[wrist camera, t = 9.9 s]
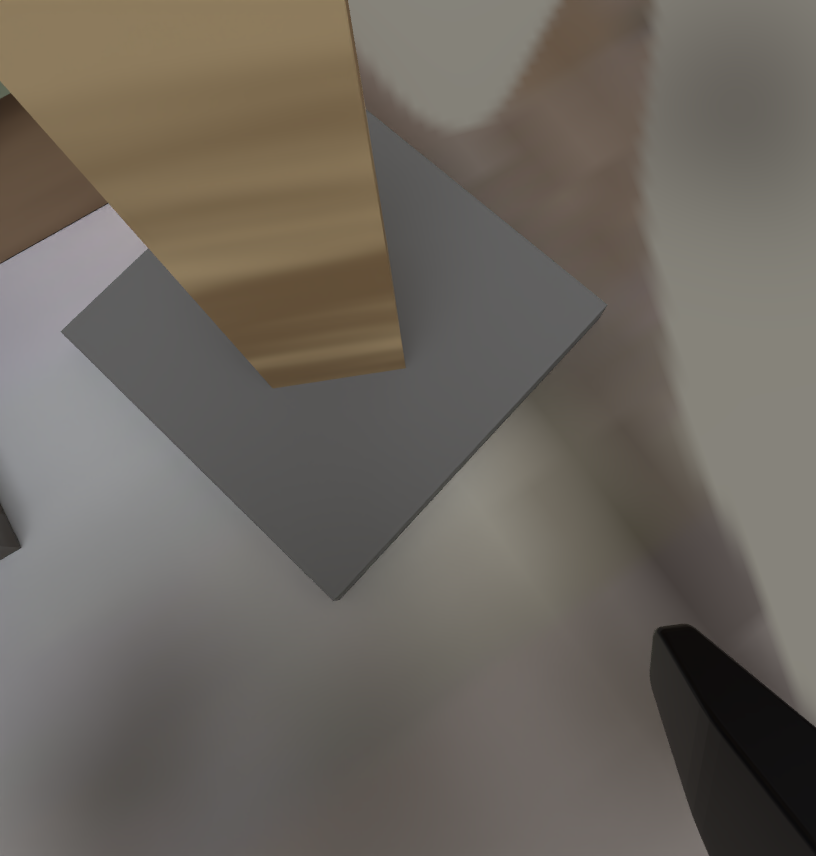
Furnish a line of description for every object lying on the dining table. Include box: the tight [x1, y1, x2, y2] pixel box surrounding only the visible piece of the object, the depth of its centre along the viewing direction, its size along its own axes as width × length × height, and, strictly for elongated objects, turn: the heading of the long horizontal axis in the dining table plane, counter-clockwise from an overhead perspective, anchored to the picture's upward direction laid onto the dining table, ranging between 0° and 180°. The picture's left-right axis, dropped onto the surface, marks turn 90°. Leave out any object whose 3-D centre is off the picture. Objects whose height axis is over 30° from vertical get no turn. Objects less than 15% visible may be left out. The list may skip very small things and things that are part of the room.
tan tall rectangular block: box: [0, 0, 406, 388], centre depth 12 cm, size 3×3×13 cm
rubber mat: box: [61, 109, 607, 601], centre depth 19 cm, size 10×10×1 cm
